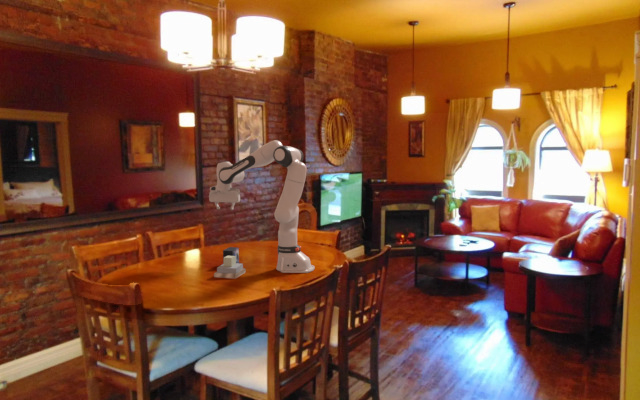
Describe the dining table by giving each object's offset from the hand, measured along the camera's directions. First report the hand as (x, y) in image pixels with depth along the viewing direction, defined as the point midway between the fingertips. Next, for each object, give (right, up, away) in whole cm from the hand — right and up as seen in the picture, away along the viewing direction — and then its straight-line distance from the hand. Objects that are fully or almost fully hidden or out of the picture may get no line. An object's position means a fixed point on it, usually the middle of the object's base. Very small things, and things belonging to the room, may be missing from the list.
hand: (225, 209), depth 288 cm
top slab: (+9, -34, -29) cm, 46 cm away
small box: (+5, -34, -8) cm, 36 cm away
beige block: (+9, -31, -29) cm, 44 cm away
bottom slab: (+9, -37, -29) cm, 48 cm away
